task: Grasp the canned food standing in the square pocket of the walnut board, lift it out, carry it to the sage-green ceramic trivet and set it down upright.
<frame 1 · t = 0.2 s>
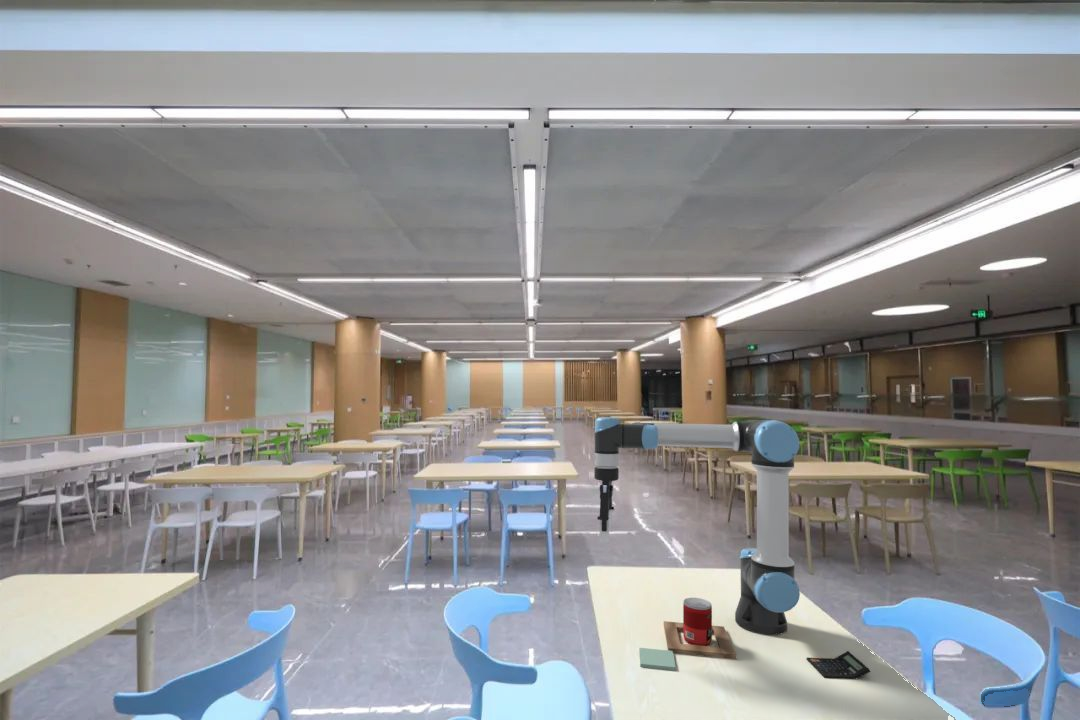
hand: (605, 536, 160), 28 cm above the table, fingers open, 13 cm apart
pocket board: (697, 641, 150), on the table
trivet: (656, 660, 139), on the table
canned food: (697, 641, 150), resting in pocket board
calculator: (837, 671, 136), on the table
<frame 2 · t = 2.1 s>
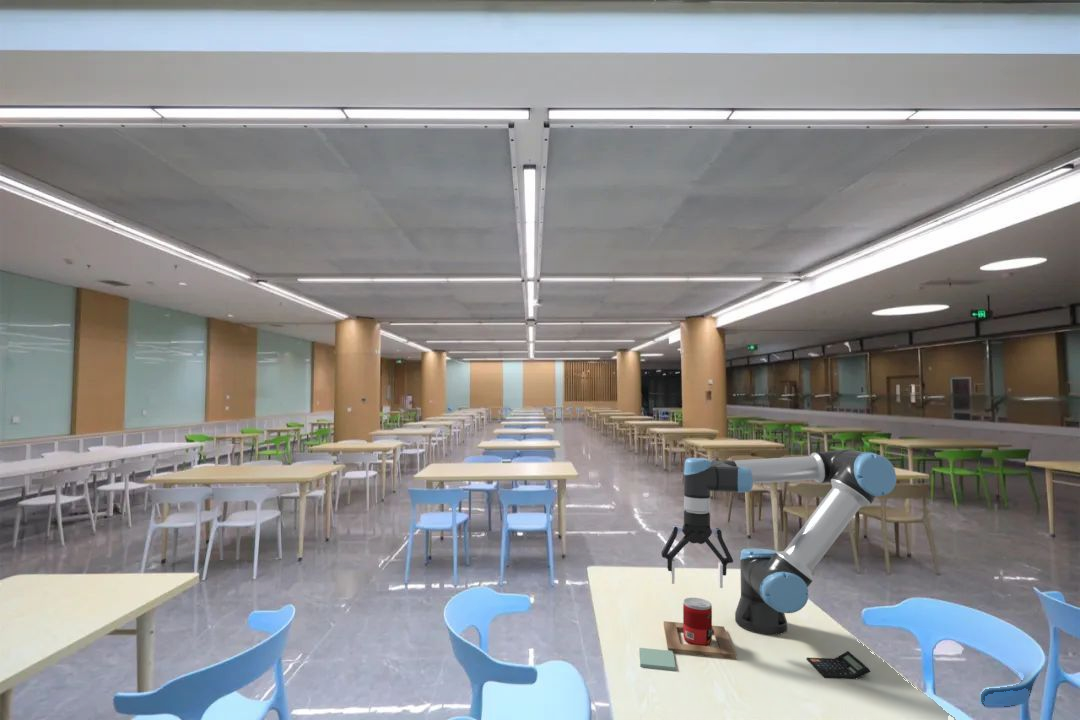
hand: (696, 584, 152), 16 cm above the table, fingers open, 13 cm apart
nothing on the table moved.
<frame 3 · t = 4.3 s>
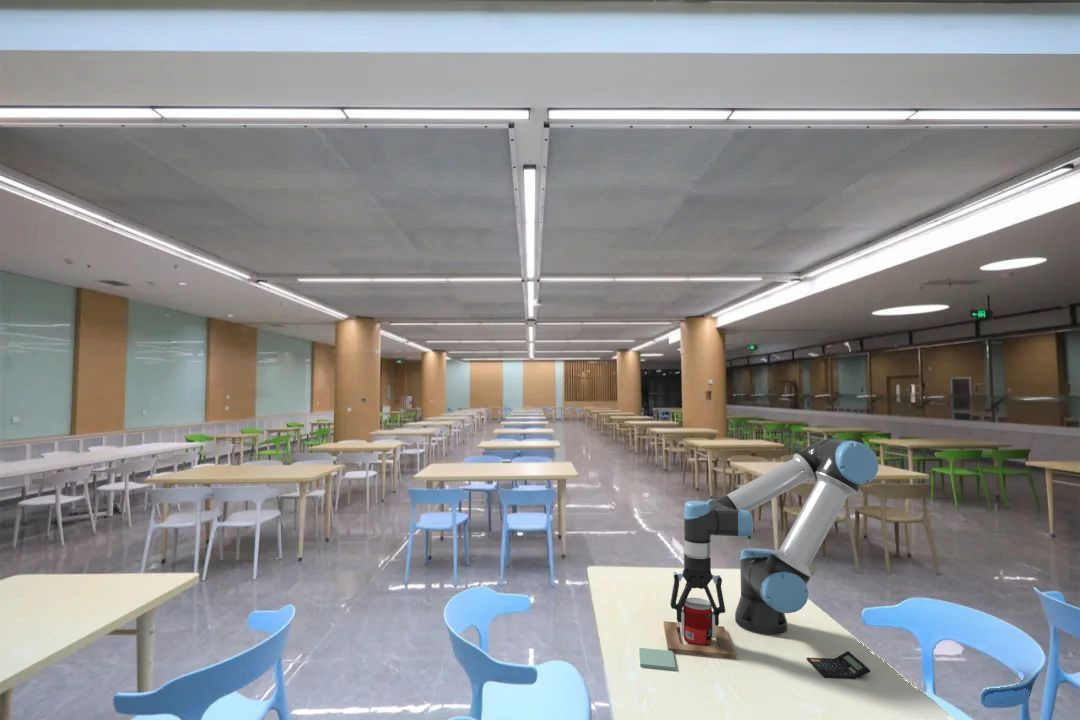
hand: (697, 634, 151), 2 cm above the table, fingers closed on canned food, 8 cm apart
canned food: (697, 641, 150), resting in pocket board, touching gripper
everything else where it was.
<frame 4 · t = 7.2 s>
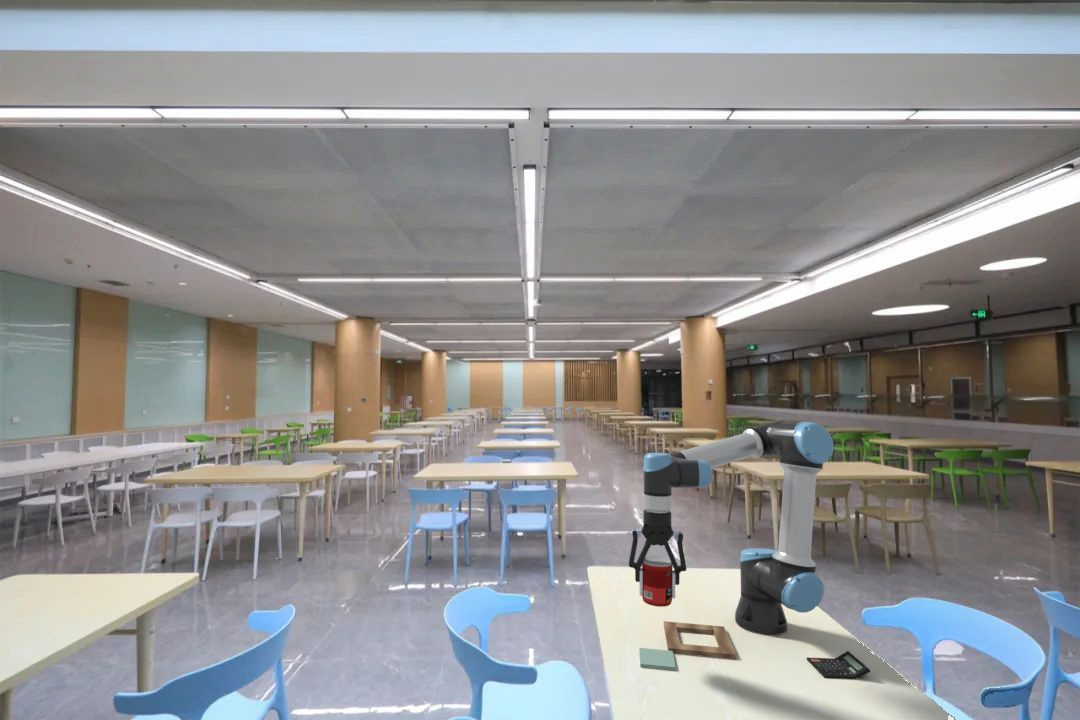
hand: (657, 595, 140), 17 cm above the table, fingers closed on canned food, 8 cm apart
canned food: (657, 602, 140), point 15 cm above the table, touching gripper
everything else where it was.
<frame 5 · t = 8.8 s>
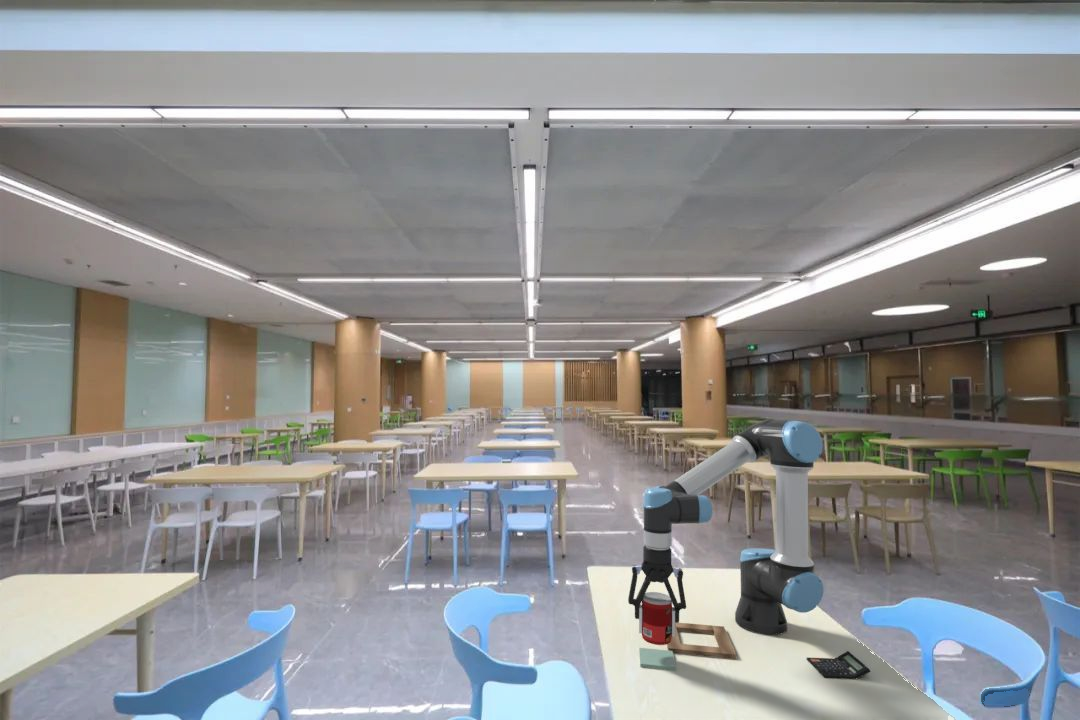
hand: (656, 632, 139), 7 cm above the table, fingers closed on canned food, 8 cm apart
canned food: (656, 639, 139), point 5 cm above the table, touching gripper
everything else where it was.
when the fingers open (4 cm above the table, at t = 10.3 s): canned food drops 2 cm, resting on trivet.
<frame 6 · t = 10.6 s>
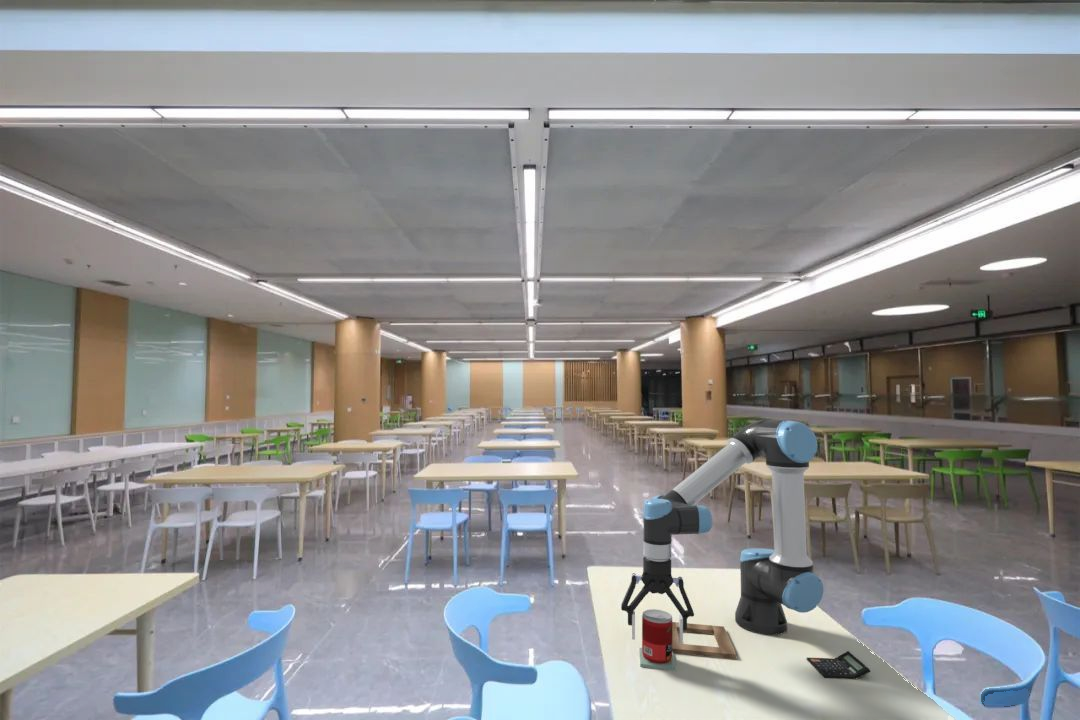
hand: (656, 639, 139), 5 cm above the table, fingers open, 12 cm apart
canned food: (657, 657, 139), point 1 cm above the table, touching trivet
everything else where it was.
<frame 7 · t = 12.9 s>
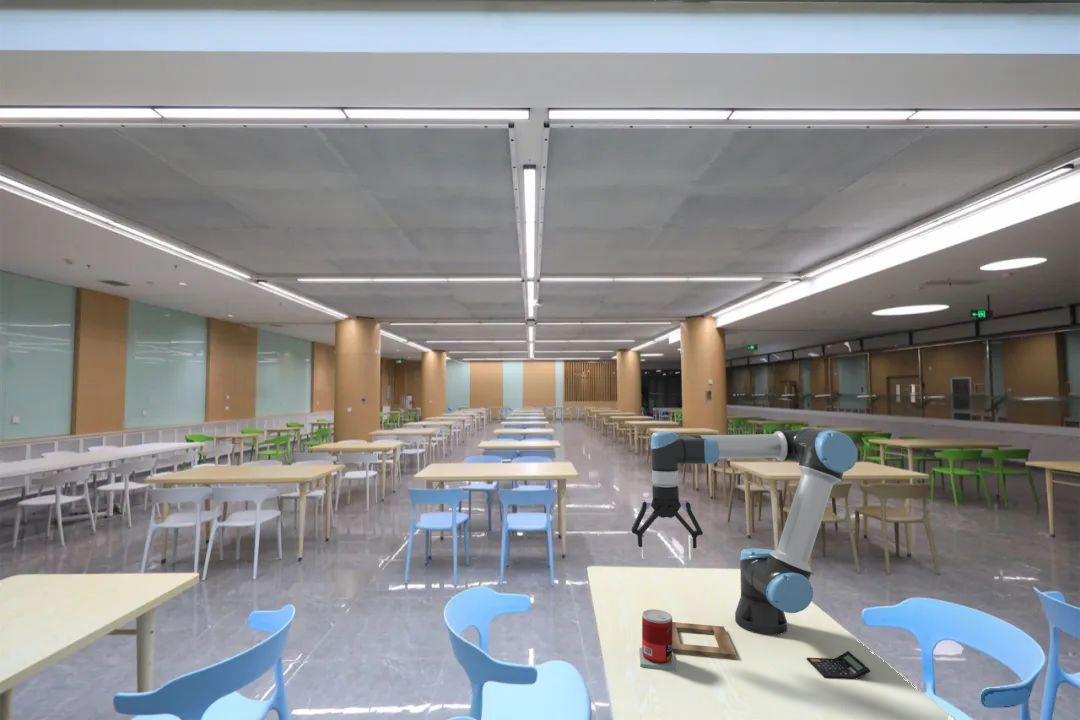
hand: (667, 558, 150), 24 cm above the table, fingers open, 13 cm apart
nothing on the table moved.
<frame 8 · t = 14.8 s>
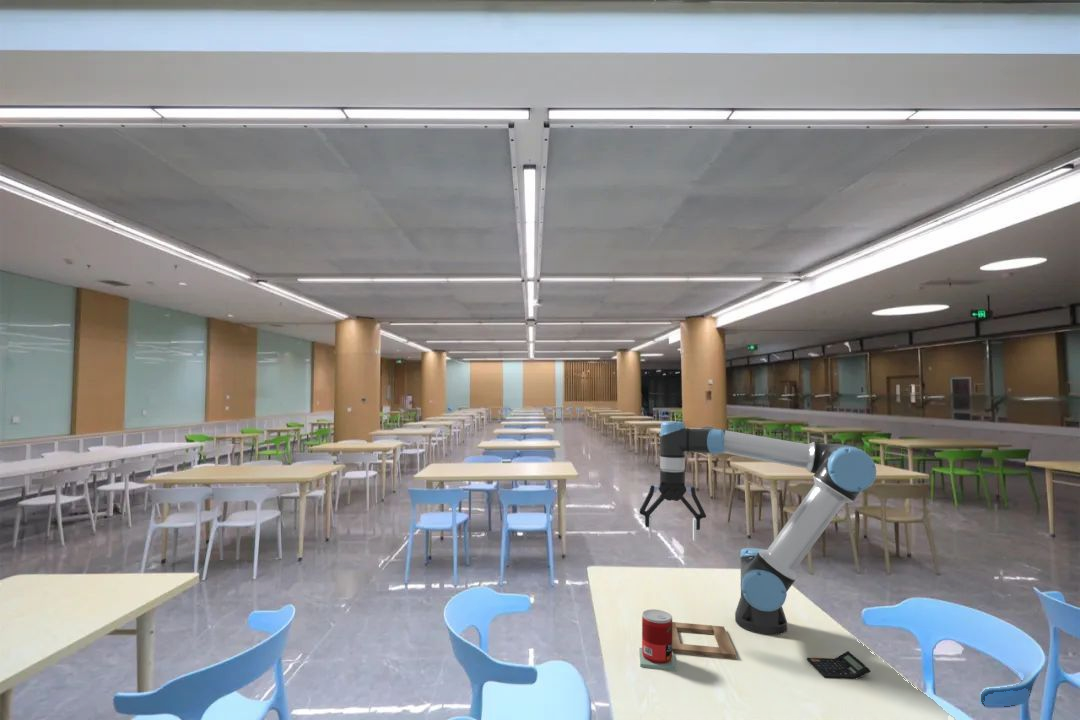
hand: (672, 539, 162), 27 cm above the table, fingers open, 13 cm apart
nothing on the table moved.
at the end: canned food inside the target area on the trivet (0.1 cm from its centre), point 0.6 cm above the trivet's base; canned food tilted 0°; the gripper is holding nothing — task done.
